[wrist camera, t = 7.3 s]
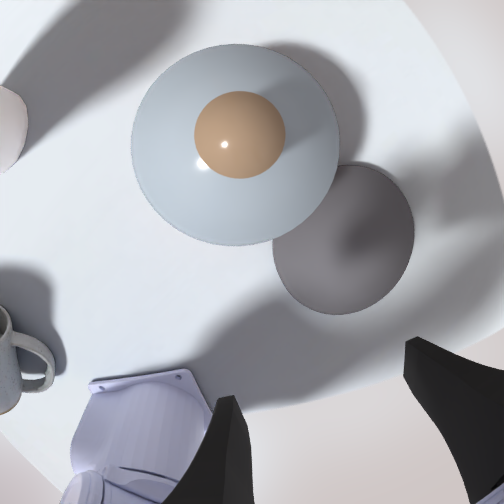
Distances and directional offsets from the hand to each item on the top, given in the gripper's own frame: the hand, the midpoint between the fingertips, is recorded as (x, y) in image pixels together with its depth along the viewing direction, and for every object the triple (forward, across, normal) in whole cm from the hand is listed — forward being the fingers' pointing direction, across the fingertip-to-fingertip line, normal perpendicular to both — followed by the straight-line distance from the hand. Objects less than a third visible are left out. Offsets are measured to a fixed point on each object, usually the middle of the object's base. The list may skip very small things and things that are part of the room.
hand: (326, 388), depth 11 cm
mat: (+9, -5, -2) cm, 11 cm away
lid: (+6, +1, -10) cm, 11 cm away
